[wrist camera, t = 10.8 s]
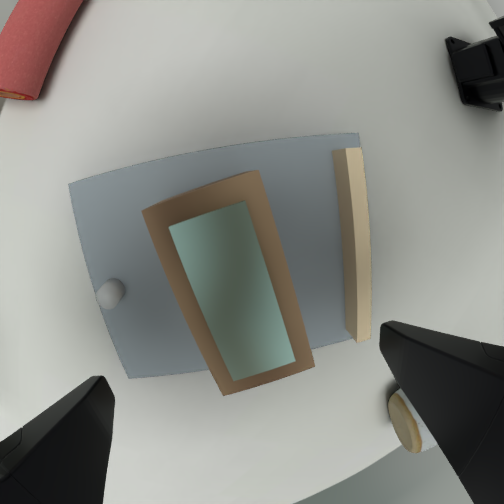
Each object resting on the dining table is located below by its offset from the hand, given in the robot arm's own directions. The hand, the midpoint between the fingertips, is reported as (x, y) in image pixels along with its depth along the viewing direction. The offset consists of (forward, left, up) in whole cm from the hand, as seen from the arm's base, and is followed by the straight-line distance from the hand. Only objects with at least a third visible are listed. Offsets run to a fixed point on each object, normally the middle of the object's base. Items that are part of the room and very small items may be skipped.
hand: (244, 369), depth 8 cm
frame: (0, 0, -10) cm, 10 cm away
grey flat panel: (0, 0, -11) cm, 11 cm away
